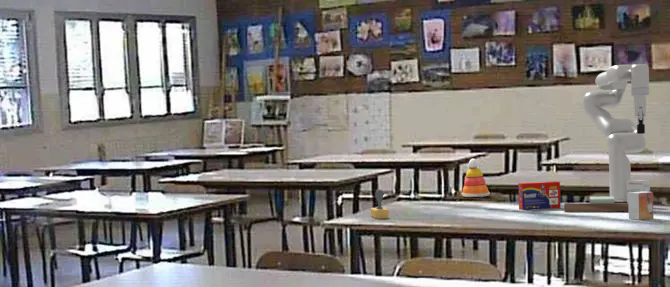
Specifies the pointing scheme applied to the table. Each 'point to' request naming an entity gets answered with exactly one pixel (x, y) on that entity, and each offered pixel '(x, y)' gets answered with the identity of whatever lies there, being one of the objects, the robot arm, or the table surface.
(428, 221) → the table surface
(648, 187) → the ink box
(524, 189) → the toy box
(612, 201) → the green block
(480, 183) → the stacking toy
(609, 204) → the walnut board
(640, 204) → the small box
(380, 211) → the rubber stamp
